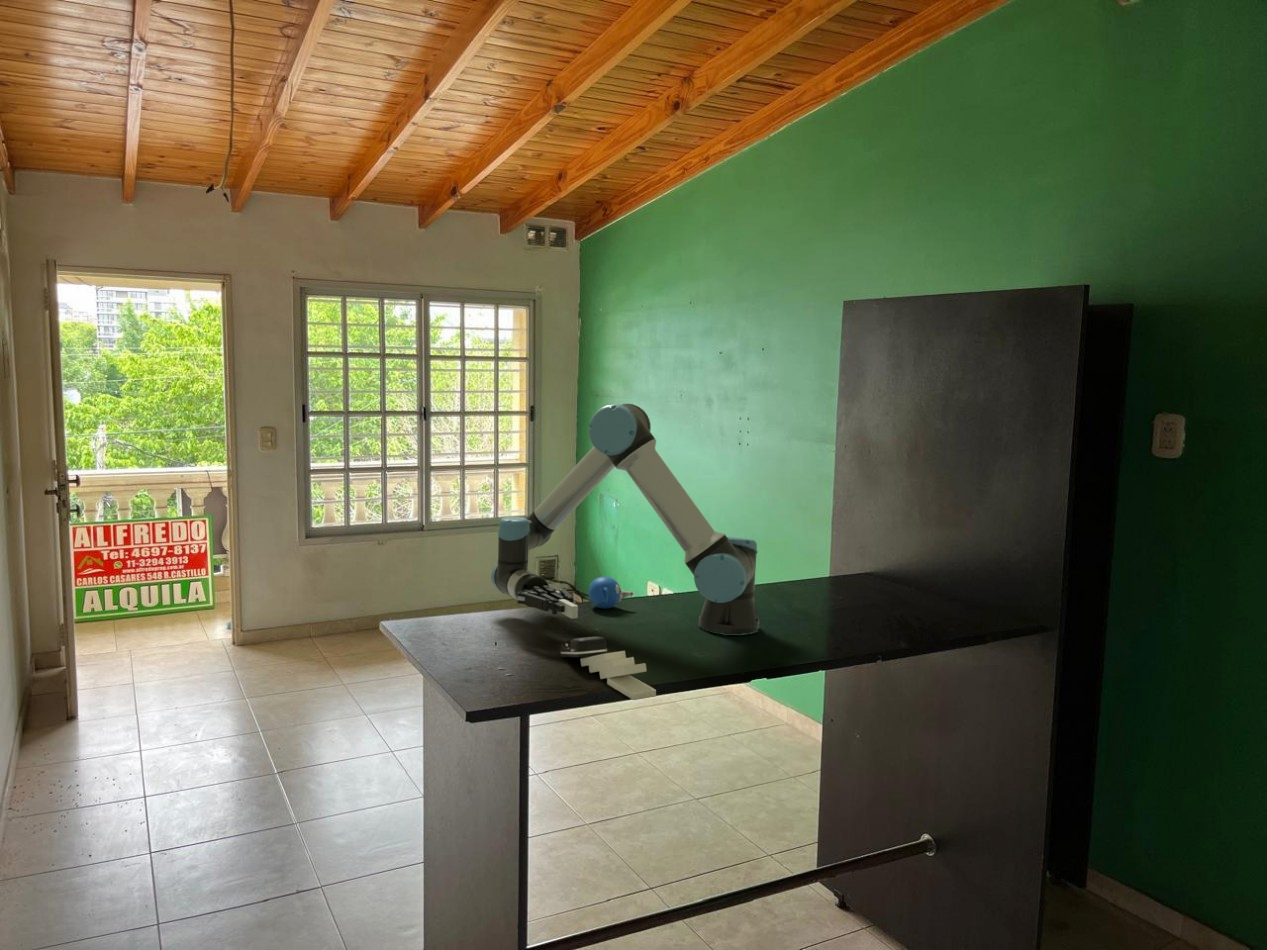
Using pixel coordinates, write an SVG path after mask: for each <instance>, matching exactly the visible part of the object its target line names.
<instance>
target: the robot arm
mask: <svg viewBox="0 0 1267 950" xmlns="http://www.w3.org/2000/svg"><path fill="white" fill-rule="evenodd" d="M651 426H652V425H651V422H650V418H649V415H648V414H647V412H646V411H645V410H644V409H643V408H642V407H640V406H639V405H636V404H633V403H618V402H617V403H610V404H607V405H604V406H603V407H601V408H599V409H598V410H597V411H596V412H595V413H594V414H593V415H592V417H591V419H590V420H589V425H588V436H589V439H590V441H591V444H592V448H590V449H589V451H588V452H587V453H586V454H585V455H584V456H583V457H582V458H581V459H580V460H579V461H578V462H577V463H576V465H575V466H573V468H571V470H570V471H569V473H568V474H567V475H566V476H565V477H564V478H562V479H561V480H560V481H559V483H558V484H557V485H556V486H555V487H554V489H552V490H551V492H550V493H549V494H548V495H547V496H546V497H545V498H544V499H543V500H542V502H541V503H539V505H538V506H537V507H536V508H535V509H534V510H533V511H532V512H531V513H530V515H528V517H527V518H526V517H522V516H506V517H503V518H501V519H500V520H499V524H498V532H497V535H498V538H497V539H498V545H497V548H498V550H497V556H498V557H497V564H496V565H495V566H494V568H493V570H492V571H491V577H490V578H491V580H490V581H491V583H492V584H493V587H495V589H497V590H498V591H499V592H501V593H502V594H505V595H507V596H509V597H511V598H513V599H515V600H517V604H520V605H525V606H527V607H529V608H534V609H538V610H540V611H544V612H548V611H550V610H551V614H552V615H557V614H558V613H560V614H562V615H564V616H565V617H567V618H570V619H578V617H579V615H578V613H579V605H577V604H576V603H574V597H573V596H572V594H570V593H569V592H568V590H567V589H568V588H566V587H563V588H560V589H559V590H557V589H556V588H555V587H551V586H550V585H549V583H548V581H547V580H546V578H544V577H542V576H539V575H537V574H536V573H533V572H531V571H529V570H528V568H529V551H531V550H534V549H535V548H538V547H541V546H543V545H545V544H546V543H547V542H548V541H549V540H550V539H551V537H552V534H553V533H554V532H555V530H556V529H558V527H559V526H560V525H561V524H562V523H563V522H564V521H565V520H566V519H567V518H568V517H569V516H570V514H571V513H573V512H574V510H575V509H576V508H577V507H578V506H579V505H580V504H581V503H582V502H583V501H584V500H585V498H587V497H588V496H589V494H590V493H591V492H593V491H594V489H595V488H596V487H597V486H598V485H600V483H601V482H603V480H604V479H605V478H606V476H608V475H609V473H610V472H612V470H614V468H615V469H616V470H622V471H625V472H626V474H628V476H629V477H630V479H632V481H633V482H634V484H635V485H636V487H637V488H638V489H639V491H640V492H641V494H642V495H643V496H644V498H645V499H646V501H648V503H649V505H650V506H651V508H652V509H653V511H654V512H655V513H656V514H657V516H658V517H659V519H660V520H661V521H662V523H663V524H664V525H665V527H666V529H667V530H668V531H669V532H670V534H671V536H672V537H673V538H674V540H675V541H676V542H677V544H678V545H679V546H680V548H681V549H682V551H683V552H684V564H685V566H686V567H687V568H688V570H689V571H690V572H691V574H692V575H693V580H694V586H695V587H696V589H697V591H698V593H700V595H701V596H702V597H704V598H705V600H704V603H703V606H702V609H701V613H700V614H699V617H698V627H699V626H700V627H701V628H702V629H704V630H708V631H712V632H717V633H724V634H742V633H750V632H753V631H756V630H757V629H758V628H759V629H760V619H759V615H758V611H757V606H756V603H755V599H754V598H755V583H756V570H757V569H756V567H757V565H756V564H757V555H758V545H757V544H758V543H757V542H756V540H755V539H751V538H744V537H735V536H734V537H733V536H732V537H731V536H727V535H726V534H725V533H723V532H718V531H715V529H713V526H711V524H710V523H709V522H708V520H707V519H706V517H705V516H704V515H703V513H702V512H701V510H700V509H699V508H698V506H697V505H696V503H695V502H694V501H693V500H692V498H691V497H690V495H689V494H688V492H687V491H686V490H685V489H684V487H683V486H682V484H681V483H680V481H679V480H678V479H677V477H676V476H675V475H674V473H673V472H672V470H671V469H670V468H669V467H668V465H667V464H666V462H665V461H664V460H663V458H662V457H661V456H660V454H659V452H658V451H657V449H656V445H657V438H655V437H654V435H653V434H652V432H651V429H652V427H651ZM700 627H699V628H700ZM701 628H700V629H701ZM702 629H701V630H702ZM704 630H703V631H704Z"/></svg>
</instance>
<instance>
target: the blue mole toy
mask: <svg viewBox="0 0 1267 950" xmlns="http://www.w3.org/2000/svg"><path fill="white" fill-rule="evenodd" d="M620 587H621V585H620V584H619V583H618V582H617V580H615V579H614V578H612V577H609V576H600V577H597V578H595V579H593V581H592V582H591V583H590V585H589V588H588V597H589V601H590V603H591V604H592V605H593V606H594V607H596V608H599V609H601V610H604V609H605V610H606V609H610V608H613V607H614V606H616V605H617V604H619V603H621V602H622V600H623V599H626V598H628V597H629V596H630V597H631V596H633V595H634V592H633V591H628V590H623V589H621V588H620ZM593 602H601V603H593Z"/></svg>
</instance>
